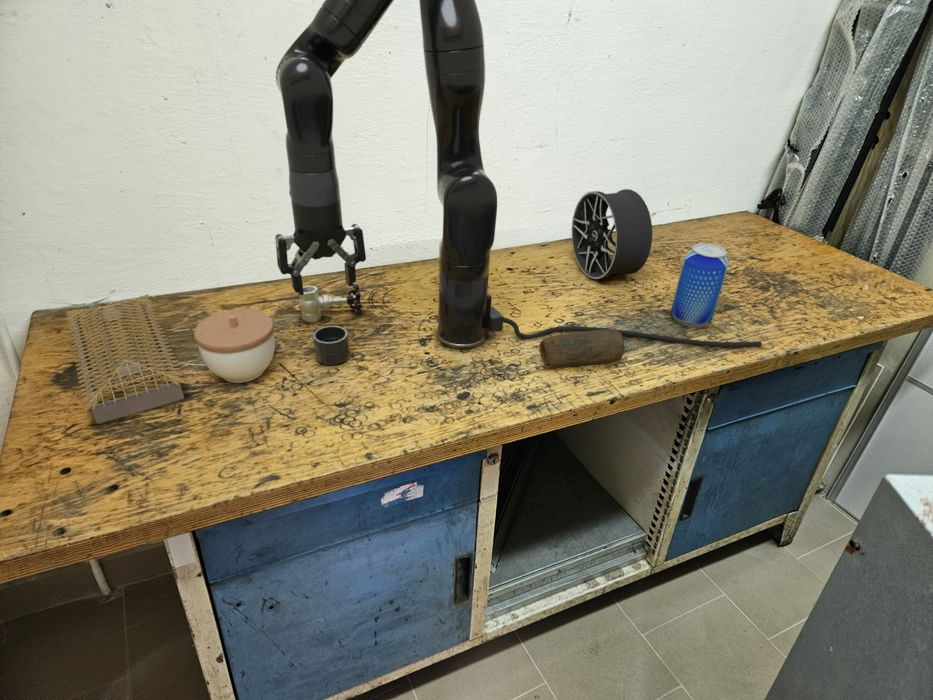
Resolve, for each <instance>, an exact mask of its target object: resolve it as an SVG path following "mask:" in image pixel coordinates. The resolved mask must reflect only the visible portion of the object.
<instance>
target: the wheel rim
mask: <svg viewBox="0 0 933 700" xmlns="http://www.w3.org/2000/svg"><path fill="white" fill-rule="evenodd" d="M608 209H609V210H610V213H611V215H607V212H608ZM573 211H574V212H573V215H572V221H571V243H572V249H573V253H574V257H575V260H576V263H577V265H578V266H579V268H580V269H581V271H582V272H583V273H584V275H585V276H587V277H589V278H590V279H593V280H599V279H605V278H607V277H609V276H611V275H613V274H624V275H634V274H635V273H637V272H639V271H640V270H641V269H642V268H643V267H644V266H645V264H646V263H647V261H648V258H649V257H650V252H651V249H652V245H653V224H652V218H651V213H650V210H649V208H648V205H647V204H646V202H645V200H644V198H643V197H642V196H641V194H639V193H638V192H636V191H635V190H633V189H629V188H624V189H621V190H618V191H617V192H611V193H610V192H609V193H604V192H603V191H600V190H599V191H598V190H597V191H596V190H595V191H594V190H593V191H588V192H586V193H584V194H583V195H582V196H581V197H580V198H579V200H578V202H577V204H576V206H575V209H574V210H573ZM611 218H612V219H613V222H614V223H613V225H612V226H611V228H609V226H610V223H609V220H608V219H611ZM614 231H615V241H614V238H613V233H614ZM609 245H610V246H611V247H612V248H614V250H612V249H611V248H610V247H609ZM609 254H610V255H612V259H611V257H610V255H609Z"/></svg>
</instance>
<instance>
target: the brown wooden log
mask: <svg viewBox="0 0 933 700" xmlns="http://www.w3.org/2000/svg"><path fill="white" fill-rule="evenodd" d="M613 329H614V328H608V329H607V330H594V331H583V332H582V331H573V332H567V333H561V334H554V335H551V336H547V337H544V338H543V339H541V341H540V342H539V353H540V354H539V355H540V358H541V361H542V363H543V365H544V367H545V368H551V369H570V368H571V369H573V368H582V367H591V366H592V367H593V366H600V365H607V364H611V363H615V362H619V361H620V360H622V358H623V356H624V353H625V340H624V336H623V335H622V334H621V333H620V332H619V331H617V330H618V329H617V330H613Z"/></svg>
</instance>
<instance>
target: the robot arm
mask: <svg viewBox="0 0 933 700" xmlns="http://www.w3.org/2000/svg"><path fill="white" fill-rule="evenodd" d="M394 1H395V0H324V1H323V3H322V4H321V6H320V8H319V9H318V10H317V12H316V14H315V16H314V18H313V19H312V21H311V22H310V24H308V26H307V27H306V28H305V29H304V30H303V31H302V32H301V34H300V35H299V36H298V37H297V38H296V39H295V40H294V41H293V42H292V44H291V46H289V48H287V50H286V51H285V53H284V54H283V56H282V58H281V59H280V60H279V62H278V64H277V66H276V70H275V83H276V86H277V88H278V90H279V92H280V94H281V99H282V105H283V112H284V117H285V125H286V133H285V150H286V158H287V164H288V184H289V185H288V186H289V191H288V192H289V196H290V201H291V209H292V216H293V217H292V218H293V225H294V232H293V235H283V234H281V233H278V234H276V235H275V237H274V239H275V250H276V262H277V268H278V270H279V272H280V273H281V274H282V275H290V279H291V286H292V289H293V291H294V292H295V294H296V293H298V296H299V295H304V291H303V287H304V284H303V277H302V274H301V273H302V271H303V270H304V269H305V267H306V266H307V265H308V264H309V262H310V261H311V259H313V260H320V259H323V258H333V257H334V255H336V254H337V255H338V256H339V257H340V258H341V259H342V260H343V261H344V263H343V264H344V265H343V266H344V277H345V283H346V285H347V286H348V287H349V288H351V287H353V284H356V281H357V272H356V266H357V264H358V263H364V262H365V261H366V260H367V255H366V249H365V248H366V247H365V240H364V231H363V229H362V228H361V227H360V226H359V225H358V223H353V224H351V226H349V227H344V226H343V215H342V213H343V212H342V203H341V190H340V189H341V188H340V179H339V175H338V170H337V165H336V164H337V163H336V151H335V143H334V136H333V129H334V128H333V126H334V92H333V83H332V80H331V79H332V78H333V77H334V75H335V74H336V72H337V71H338V70H339V68H340V67H341V66H342V65H343V63H344V62H345V61H346V60H349V59H351V58H354V57H355V56H356V54H357V53H358V52H359V51H360V49H361V48H362V47H363V46H364V44H365V43H366V42H367V40H368V38H370V36H371V34H372V33H373V31H374V30H375V29H376V28H377V26H378V25H379V23H380V22H381V20H382V19H383V17H384V16H385V14H386V13H387V11H388V10H389V8H390V7H391V6H392V4H393V3H394ZM419 12H420V13H419V14H420V25H421V37H422V49H423V62H424V70H425V76H426V84H427V90H428V97H429V103H430V104H429V105H430V110H431V115H432V119H433V125H434V129H435V137H436V139H435V140H436V193H437V197H438V200H439V202H440V204H441V207H442V238H441V239H440V241H439V244H438V316H437V317H438V319H437V339H438V341H439V342H440V343H441V344H443V345H444V346H446V347H449V348H452V349H458V350H467V349H473V348H477V347H478V346H481V345H482V344H483V343H484V342H485V341H486V340H489V339H490V333H496V332H497V333H498V332H500V331H503V328H504V324H508V325H510V326H511V327H512V329H513V332H514V334H515V336H516V337H518V338H519V339H522V340H523V339H524V340H531V339H537V338H541V337H543V336H546V335H548V334H552V333H558V332H583V331H594V330H607V329H609V328H607V327H594V326H593V327H592V326H576V325H575V326H572V325H571V326H554V327H549V328H546V329H543V330H541V331H538V332H536V333H532V334H526V333H522V332H520V329H519V325H518V323H516V322H515V321H514V320H512V319H510V318H508V317H504V315H502V313H500V311H498V310H497V309H496V307H494V306H493V305H492V300H493V298H492V297H493V296H492V294H490V293H489V277H490V276H489V275H490V261H491V250H492V248H493V246H494V242H495V236H496V224H497V215H498V192H497V188H496V186H495V184H494V182H493V181H492V180H491V179H490V177H489V176H488V175H487V173H486V172H485V168H484V164H483V158H482V157H483V156H482V150H481V141H480V121H481V115H482V114H481V113H482V108H483V103H484V96H485V95H484V94H485V89H486V87H485V86H486V58H485V56H486V55H485V39H484V31H483V25H482V21H481V17H480V14H479V9H478V6H477V2H476V0H419ZM347 236H348V237H349V239H350V240H351V241H352V244H353V251H354V252H353V253H351V254H350V253H349V252H348V251H347V250H346V249H345V248H344V247H343V246H342V245H343V242H344V241H345V240H346V238H347ZM293 244H295V245H296V246H297V247H298V249H297V250H296V252H295V254H294V258H293V260H292V261H291V262H290V263H289V262H288V261H289V259H288V251H290V250H291V248H292V245H293ZM612 329H613V330H617V331H619V332H620V333H621V334H622V336H626V337H634V338H641V339H648V340H655V341H656V340H657V341H663V342H669V343H674V344H675V343H676V344H683V345H684V344H685V345H691V346H701V347H712V348H713V347H714V348H755V347H756V348H757V347H762V345H763V343H762V341H736V342H735V341H734V342H733V341H732V342H730V341H729V342H727V341H709V340H699V339H690V338H681V337H673V336H666V335H661V334H660V335H659V334H654V333H648V332H647V333H646V332H640V331H632V330H624V329H617V328H612Z"/></svg>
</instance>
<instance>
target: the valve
mask: <svg viewBox="0 0 933 700" xmlns="http://www.w3.org/2000/svg"><path fill="white" fill-rule="evenodd" d="M352 288H353V289H351V290H349V291H348V292H347V295H346V296H345V297H342V296H334V298H332V297H329V295H328V294H322V296H320V291H319V288H318V287H316V286H314V285H303V291H304V295H299V294H298V297H299V302H298V304H299V309H300V310H301V313H300V314H301V319H302V320H303V321H304V322H306V323H316V322H318V321H319V320H321V318H322V311H321V310H322V309H323V310H325V311H327V310H330V309H331V307H333V305H335V306H342V305H343V304H346V305H347V306H349V308H350V309H351V310H355V314H356V316H359V315H362V314H363V310H362V308H363V303H362V302H361V297H362V296H361V294H362V293H361V291H360V285H359V283H353V286H352Z"/></svg>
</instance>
